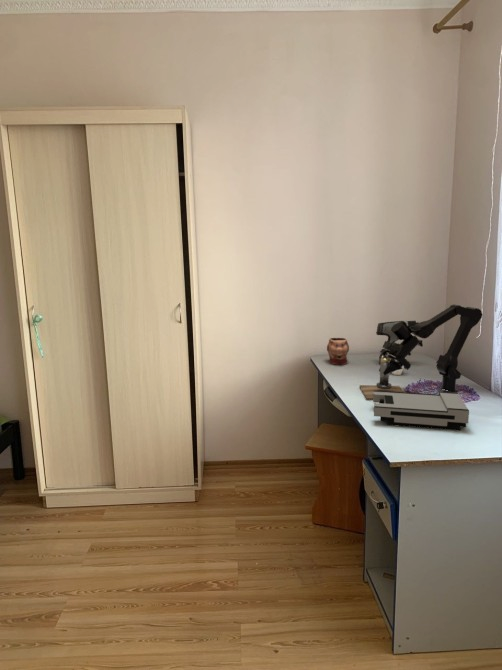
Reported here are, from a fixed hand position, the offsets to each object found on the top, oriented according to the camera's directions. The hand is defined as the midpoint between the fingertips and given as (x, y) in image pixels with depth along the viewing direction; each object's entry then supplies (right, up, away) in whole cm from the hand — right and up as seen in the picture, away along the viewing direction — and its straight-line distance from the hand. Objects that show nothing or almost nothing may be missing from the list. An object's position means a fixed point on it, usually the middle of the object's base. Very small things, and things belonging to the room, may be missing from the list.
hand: (381, 372), depth 204 cm
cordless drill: (+24, 0, +53) cm, 58 cm away
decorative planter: (-8, +1, +59) cm, 59 cm away
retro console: (+6, -16, -27) cm, 31 cm away
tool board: (+1, -10, +2) cm, 10 cm away
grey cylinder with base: (+1, -6, +1) cm, 7 cm away
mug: (+15, -4, +35) cm, 38 cm away
